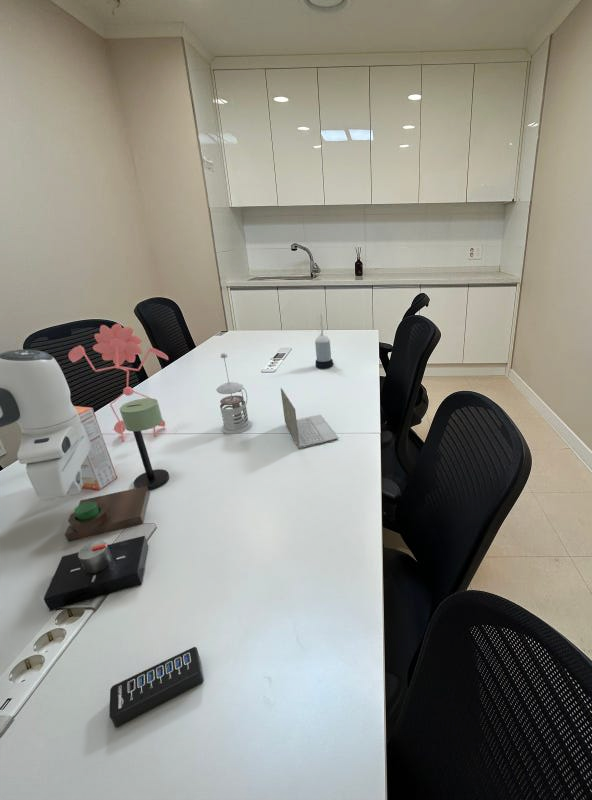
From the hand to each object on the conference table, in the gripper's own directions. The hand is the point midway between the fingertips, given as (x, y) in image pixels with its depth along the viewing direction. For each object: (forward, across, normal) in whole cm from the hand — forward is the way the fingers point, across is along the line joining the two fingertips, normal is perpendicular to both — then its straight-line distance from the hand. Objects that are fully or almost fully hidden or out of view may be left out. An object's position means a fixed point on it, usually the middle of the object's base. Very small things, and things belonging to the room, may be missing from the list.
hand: (77, 490), depth 80 cm
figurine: (+10, -48, +4) cm, 49 cm away
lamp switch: (+6, 0, 0) cm, 6 cm away
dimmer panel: (+10, +16, +5) cm, 20 cm away
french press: (+10, -38, +33) cm, 52 cm away
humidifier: (+9, -85, +76) cm, 114 cm away
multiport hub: (+10, +42, +17) cm, 47 cm away
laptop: (+9, -24, +54) cm, 60 cm away
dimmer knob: (+7, +16, +5) cm, 18 cm away
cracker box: (+10, -21, -6) cm, 24 cm away
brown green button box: (+10, -3, +3) cm, 11 cm away
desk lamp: (+10, -14, +10) cm, 20 cm away
